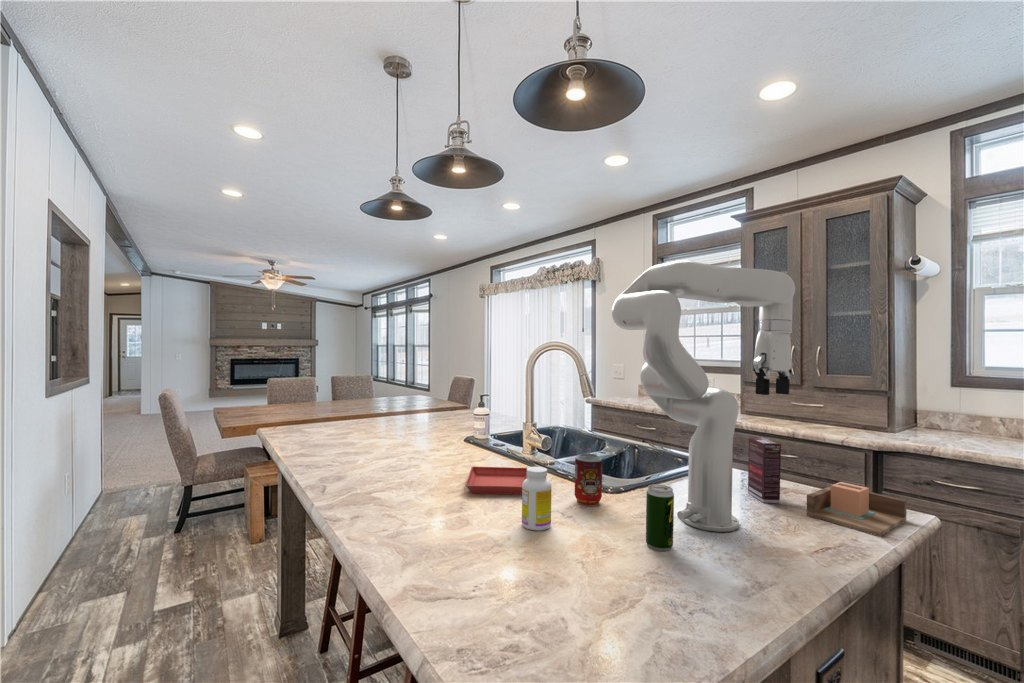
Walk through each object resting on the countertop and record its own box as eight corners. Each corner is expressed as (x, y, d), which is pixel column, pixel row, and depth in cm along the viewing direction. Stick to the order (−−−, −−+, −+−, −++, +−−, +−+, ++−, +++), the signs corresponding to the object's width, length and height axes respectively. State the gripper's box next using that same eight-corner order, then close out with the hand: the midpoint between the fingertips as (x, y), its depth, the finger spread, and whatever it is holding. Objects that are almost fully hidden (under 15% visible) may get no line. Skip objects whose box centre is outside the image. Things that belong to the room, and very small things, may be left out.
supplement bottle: (555, 523, 106) (556, 467, 106) (544, 533, 100) (545, 474, 100) (528, 518, 109) (529, 463, 109) (516, 528, 103) (517, 470, 103)
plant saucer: (531, 498, 125) (531, 485, 125) (464, 496, 125) (465, 484, 125) (529, 478, 143) (529, 467, 143) (471, 477, 143) (471, 466, 143)
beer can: (645, 549, 93) (646, 490, 94) (645, 539, 99) (646, 482, 99) (673, 553, 92) (674, 493, 92) (672, 542, 97) (673, 485, 97)
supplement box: (781, 503, 123) (782, 443, 123) (762, 503, 123) (763, 443, 123) (764, 493, 131) (764, 437, 131) (746, 492, 131) (747, 436, 131)
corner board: (880, 536, 102) (881, 514, 102) (806, 515, 114) (806, 494, 114) (906, 520, 112) (906, 500, 112) (835, 502, 124) (835, 484, 124)
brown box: (830, 509, 115) (831, 484, 115) (840, 505, 119) (840, 481, 119) (859, 517, 110) (859, 491, 110) (868, 512, 114) (869, 487, 114)
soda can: (579, 507, 117) (580, 459, 117) (571, 498, 124) (571, 452, 124) (605, 506, 118) (606, 458, 118) (596, 497, 125) (597, 452, 125)
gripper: (777, 330, 127) (775, 392, 127) (742, 326, 118) (739, 393, 118) (806, 329, 121) (804, 395, 121) (772, 325, 112) (769, 396, 111)
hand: (772, 394), depth 119 cm, fingers open, 9 cm apart
